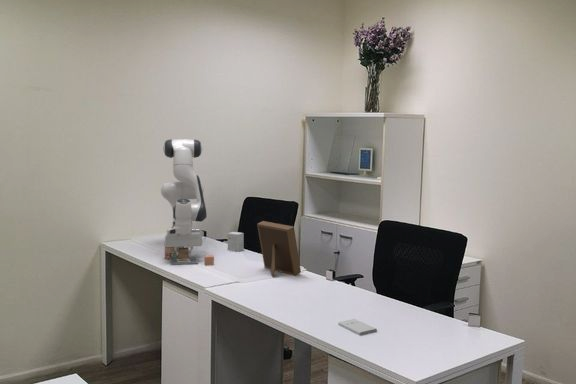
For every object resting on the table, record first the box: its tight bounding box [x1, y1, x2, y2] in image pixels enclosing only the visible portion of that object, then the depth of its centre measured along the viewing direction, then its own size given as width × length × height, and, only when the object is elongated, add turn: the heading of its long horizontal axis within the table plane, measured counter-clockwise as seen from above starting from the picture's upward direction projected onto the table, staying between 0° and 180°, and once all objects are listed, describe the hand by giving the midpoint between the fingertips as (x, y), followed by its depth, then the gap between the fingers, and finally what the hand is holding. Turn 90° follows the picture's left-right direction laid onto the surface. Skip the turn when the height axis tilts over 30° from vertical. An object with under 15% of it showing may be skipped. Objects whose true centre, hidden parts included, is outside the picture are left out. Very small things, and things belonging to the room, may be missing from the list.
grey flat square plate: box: [169, 256, 199, 266], centre depth 301 cm, size 14×14×1 cm
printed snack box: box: [164, 246, 185, 259], centre depth 315 cm, size 21×6×12 cm, turn 179°
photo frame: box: [256, 220, 302, 278], centre depth 280 cm, size 15×22×25 cm
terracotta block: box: [204, 254, 215, 266], centre depth 296 cm, size 4×4×4 cm
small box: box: [227, 231, 245, 252], centre depth 331 cm, size 8×6×10 cm
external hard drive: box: [337, 318, 378, 336], centre depth 205 cm, size 2×8×12 cm
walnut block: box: [178, 247, 190, 259], centre depth 300 cm, size 5×5×5 cm
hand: (183, 254), depth 300 cm, fingers closed on walnut block, 5 cm apart
